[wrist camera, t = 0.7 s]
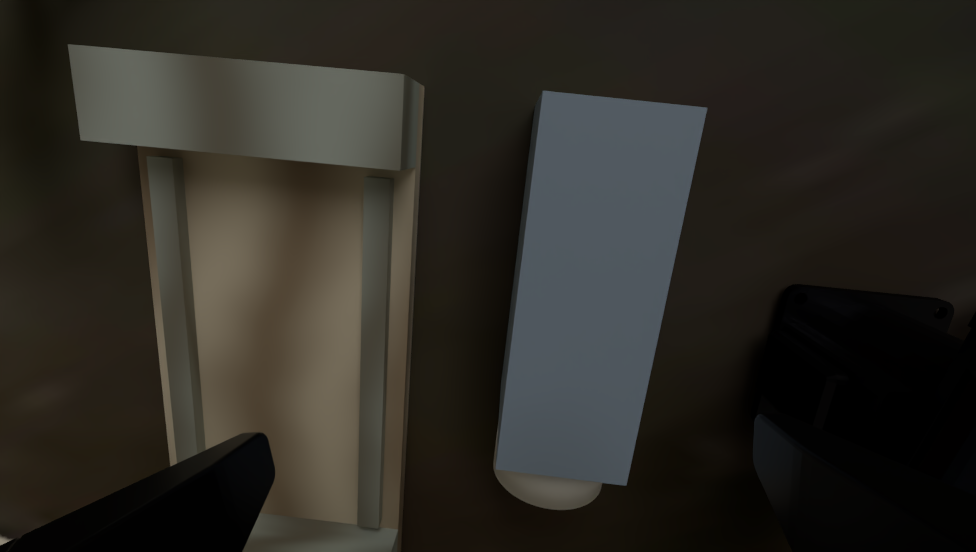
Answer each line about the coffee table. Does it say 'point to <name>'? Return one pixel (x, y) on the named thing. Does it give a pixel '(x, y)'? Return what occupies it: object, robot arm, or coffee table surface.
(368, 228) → the cradle
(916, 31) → the coffee table surface
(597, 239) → the slate grey rectangular prism
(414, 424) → the coffee table surface
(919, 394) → the robot arm
